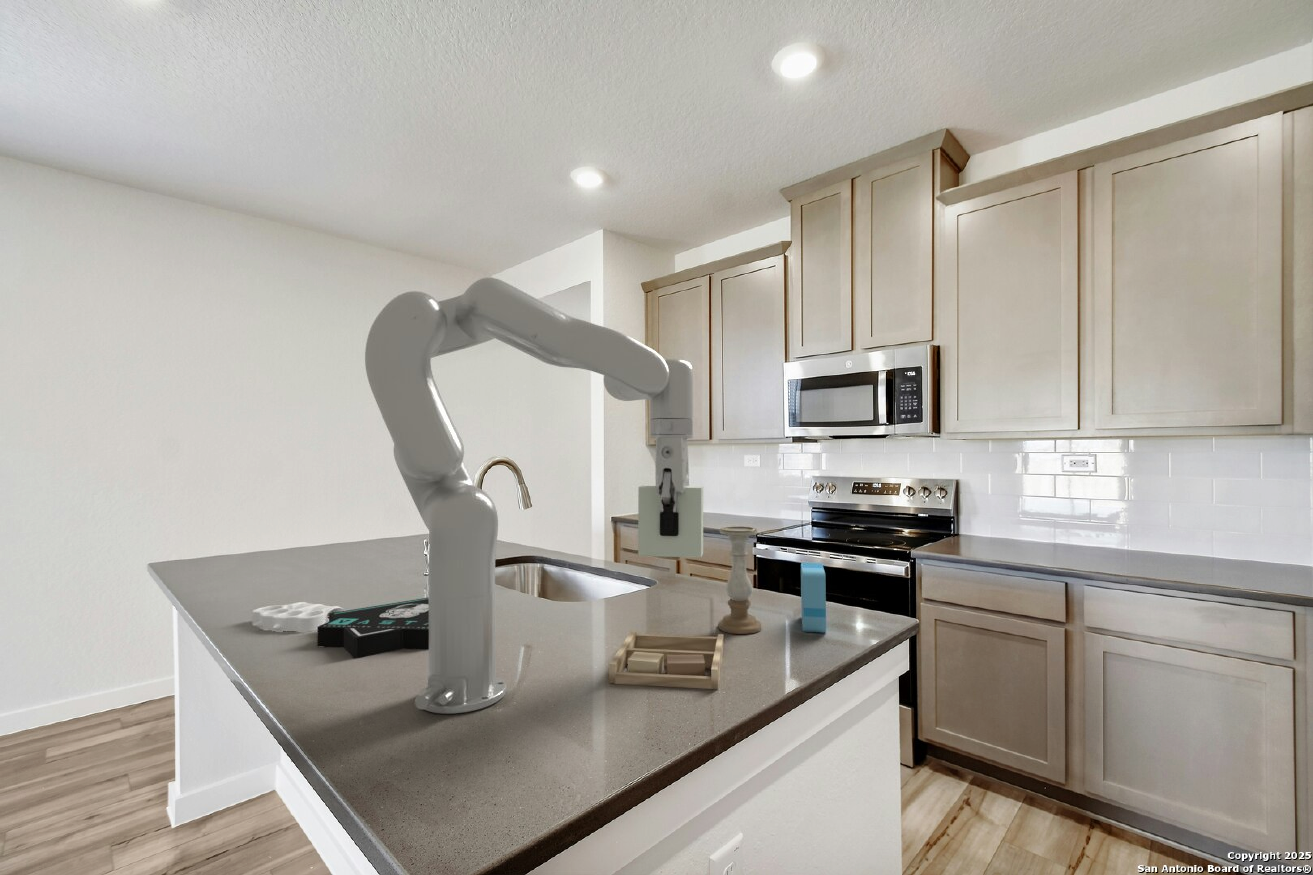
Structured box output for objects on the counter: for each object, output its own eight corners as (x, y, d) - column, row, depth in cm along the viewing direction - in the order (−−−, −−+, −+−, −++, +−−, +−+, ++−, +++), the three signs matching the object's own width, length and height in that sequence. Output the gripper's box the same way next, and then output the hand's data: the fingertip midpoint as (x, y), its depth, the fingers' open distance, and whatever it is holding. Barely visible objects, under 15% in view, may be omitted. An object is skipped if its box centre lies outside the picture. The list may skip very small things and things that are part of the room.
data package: (826, 634, 118) (825, 573, 119) (802, 633, 119) (801, 572, 119) (823, 617, 130) (822, 562, 130) (801, 616, 131) (800, 561, 131)
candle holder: (720, 635, 119) (719, 531, 119) (715, 622, 127) (714, 525, 128) (765, 634, 119) (764, 531, 119) (756, 621, 128) (755, 525, 128)
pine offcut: (657, 681, 96) (657, 662, 96) (627, 678, 97) (627, 659, 97) (663, 672, 100) (663, 653, 100) (634, 669, 101) (634, 651, 101)
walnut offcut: (705, 682, 95) (704, 663, 96) (667, 682, 95) (667, 663, 96) (703, 672, 99) (703, 654, 100) (666, 673, 99) (666, 654, 100)
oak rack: (717, 689, 92) (717, 669, 92) (609, 683, 95) (609, 664, 95) (723, 651, 109) (723, 634, 109) (631, 646, 112) (631, 630, 112)
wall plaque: (436, 662, 106) (497, 615, 136) (436, 639, 106) (497, 597, 136) (276, 658, 109) (371, 613, 138) (276, 635, 109) (371, 595, 139)
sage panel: (701, 557, 103) (701, 487, 104) (638, 555, 105) (638, 486, 105) (703, 553, 107) (703, 486, 108) (642, 552, 109) (642, 485, 109)
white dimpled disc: (355, 620, 133) (292, 639, 119) (298, 612, 140) (233, 630, 126) (355, 604, 133) (292, 622, 119) (298, 598, 140) (233, 614, 126)
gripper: (687, 428, 98) (686, 541, 97) (696, 431, 114) (696, 528, 114) (641, 428, 99) (641, 540, 99) (657, 431, 116) (657, 527, 115)
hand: (671, 532), depth 106 cm, fingers closed on sage panel, 4 cm apart
